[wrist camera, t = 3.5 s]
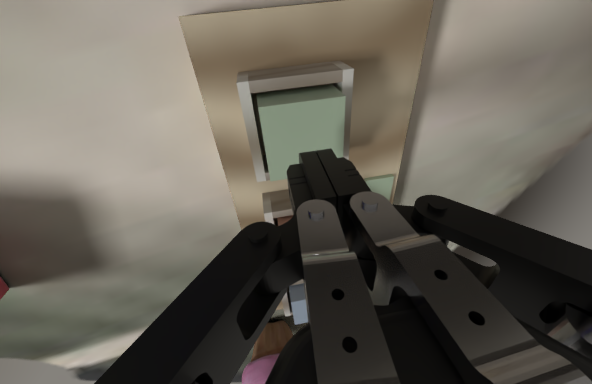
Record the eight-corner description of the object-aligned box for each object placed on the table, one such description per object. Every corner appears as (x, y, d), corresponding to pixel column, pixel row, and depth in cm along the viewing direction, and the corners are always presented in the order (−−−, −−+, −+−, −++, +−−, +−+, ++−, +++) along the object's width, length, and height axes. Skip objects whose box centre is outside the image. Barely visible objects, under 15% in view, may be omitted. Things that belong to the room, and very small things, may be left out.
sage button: (256, 93, 14) (257, 107, 12) (332, 84, 14) (345, 96, 12) (267, 161, 17) (270, 181, 15) (331, 152, 17) (342, 170, 15)
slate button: (287, 279, 25) (291, 302, 23) (330, 271, 25) (337, 293, 23) (291, 302, 28) (294, 324, 26) (330, 295, 28) (336, 316, 26)
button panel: (185, 15, 14) (165, 18, 11) (416, -7, 15) (466, -12, 12) (265, 297, 32) (267, 332, 29) (368, 277, 34) (383, 309, 30)
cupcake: (245, 343, 39) (245, 428, 31) (239, 315, 34) (237, 408, 26) (301, 334, 41) (314, 414, 33) (303, 306, 35) (320, 392, 27)
